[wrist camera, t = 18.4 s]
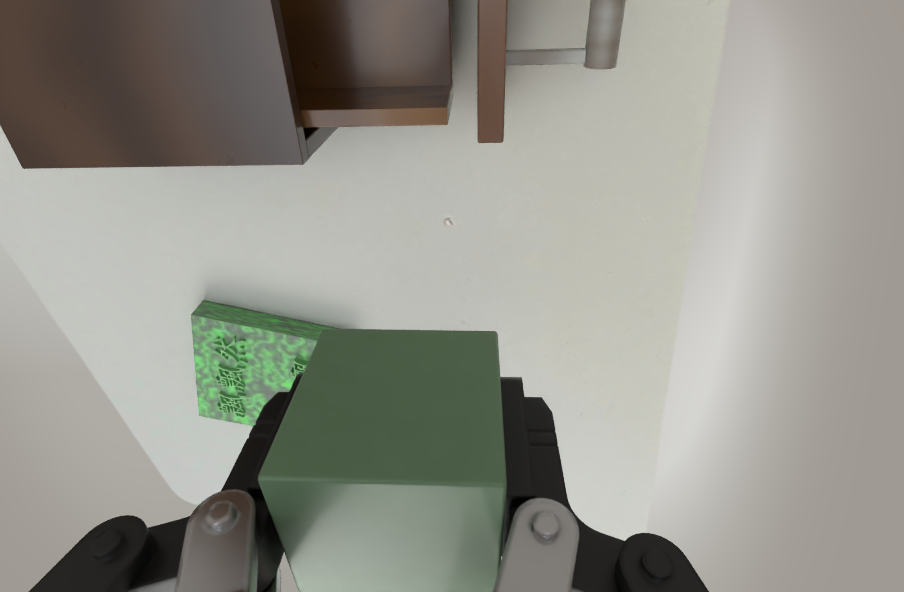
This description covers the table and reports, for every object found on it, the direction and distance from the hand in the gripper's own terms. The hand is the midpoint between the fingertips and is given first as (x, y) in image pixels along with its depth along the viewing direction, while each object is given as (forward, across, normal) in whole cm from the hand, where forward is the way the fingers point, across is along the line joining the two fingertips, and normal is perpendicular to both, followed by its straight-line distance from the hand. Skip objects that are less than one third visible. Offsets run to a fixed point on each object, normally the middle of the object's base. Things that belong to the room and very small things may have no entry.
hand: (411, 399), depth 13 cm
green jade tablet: (+22, +15, +18) cm, 32 cm away
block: (0, 0, 0) cm, 0 cm away
